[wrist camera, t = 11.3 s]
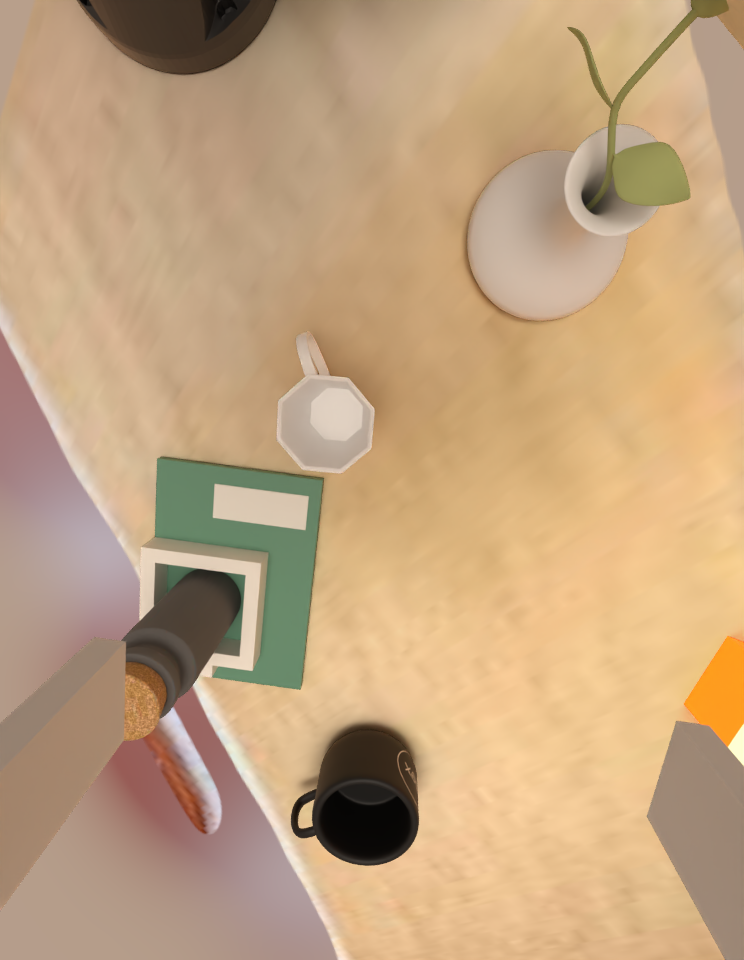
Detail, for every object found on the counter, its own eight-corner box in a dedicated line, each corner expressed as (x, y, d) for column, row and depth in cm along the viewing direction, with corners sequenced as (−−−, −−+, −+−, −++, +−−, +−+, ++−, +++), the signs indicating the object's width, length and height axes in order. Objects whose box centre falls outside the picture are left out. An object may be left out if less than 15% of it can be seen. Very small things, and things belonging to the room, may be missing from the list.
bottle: (179, 561, 45) (75, 657, 31) (245, 572, 45) (171, 674, 30) (174, 621, 46) (72, 740, 32) (238, 632, 46) (165, 757, 32)
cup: (312, 465, 43) (293, 488, 36) (271, 349, 41) (242, 346, 34) (391, 440, 43) (390, 459, 35) (354, 321, 41) (344, 311, 33)
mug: (394, 707, 48) (394, 765, 41) (430, 782, 50) (435, 850, 43) (280, 745, 50) (261, 807, 43) (318, 818, 52) (306, 888, 45)
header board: (161, 456, 44) (142, 464, 41) (323, 478, 44) (318, 487, 40) (155, 663, 48) (137, 685, 45) (301, 684, 48) (295, 707, 45)
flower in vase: (634, 290, 39) (1024, 174, 15) (490, 344, 41) (629, 319, 16) (589, 108, 37) (969, -391, 12) (436, 172, 38) (507, -162, 14)
